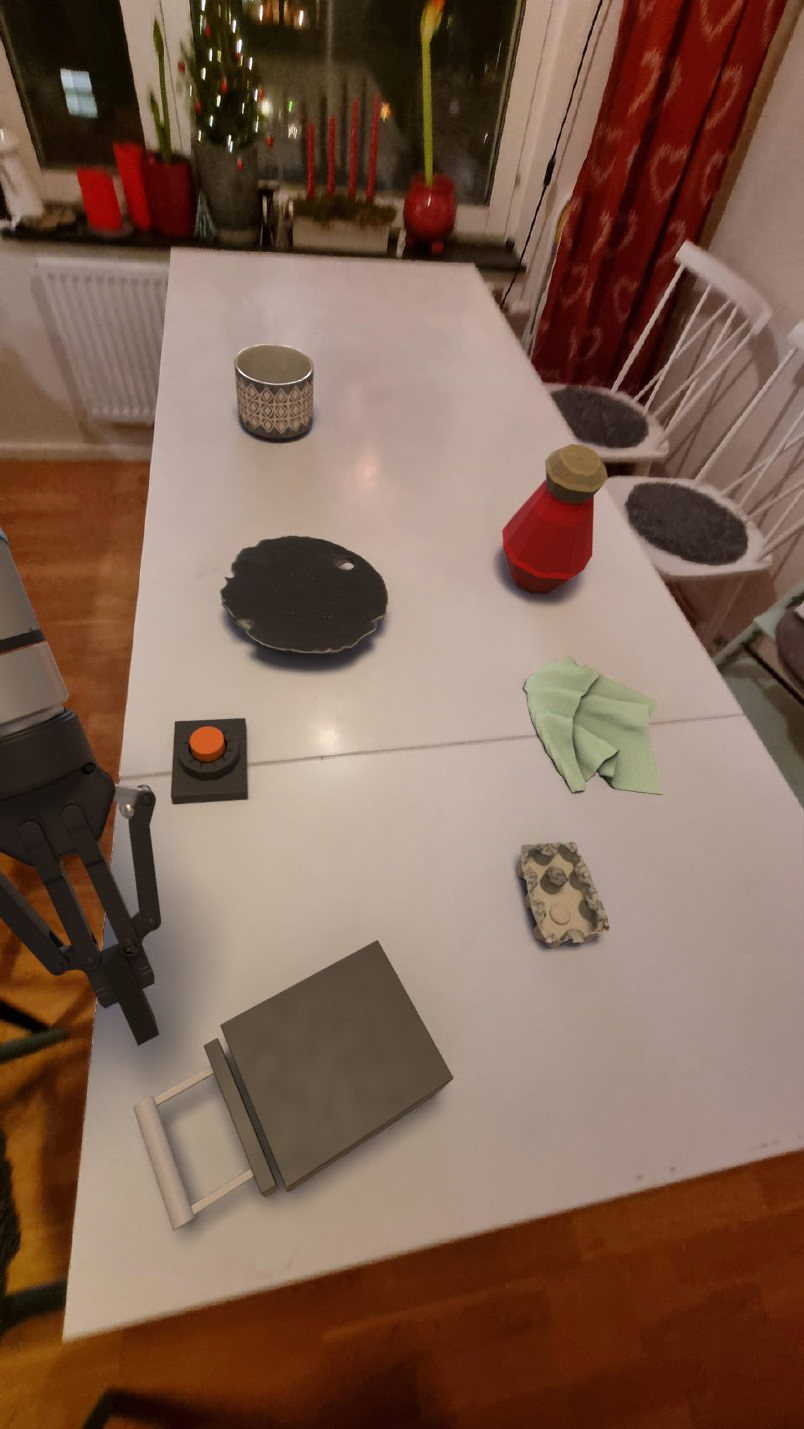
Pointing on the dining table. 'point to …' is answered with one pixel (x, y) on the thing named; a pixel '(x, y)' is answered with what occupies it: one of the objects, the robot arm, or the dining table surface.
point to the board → (304, 595)
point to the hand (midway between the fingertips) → (146, 1030)
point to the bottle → (555, 522)
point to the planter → (274, 390)
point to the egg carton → (561, 894)
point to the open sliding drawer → (163, 1153)
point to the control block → (210, 764)
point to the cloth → (593, 727)
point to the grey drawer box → (334, 1062)
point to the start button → (207, 744)
